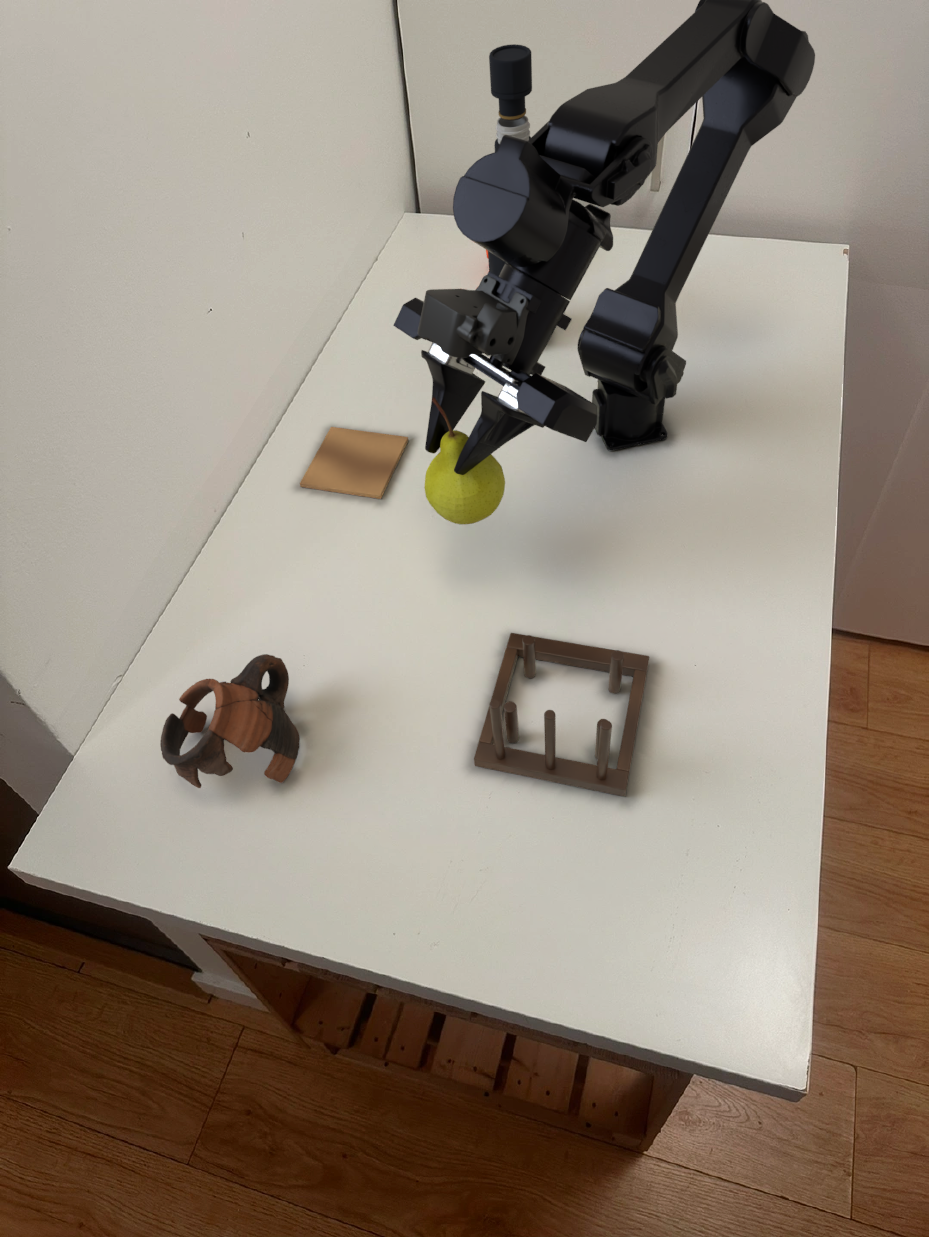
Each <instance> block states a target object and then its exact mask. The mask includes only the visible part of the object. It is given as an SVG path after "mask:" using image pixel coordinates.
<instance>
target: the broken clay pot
mask: <svg viewBox="0 0 929 1237" xmlns="http://www.w3.org/2000/svg"><path fill="white" fill-rule="evenodd" d="M266 673H267V674H268V686H266V688H263V680H264V676H265V675H266ZM289 682H290V677H289V671H288V669H287V666H286V664H285V662H284V661H283V658H281V657H276V656H275V655H273V654H272V655H271V654H268V653H266V654H264V653H263V654H260V655H257V656H255V657H253V658H252V659H251V660H250V661H249V662H248V663H247V664H246V665H245V667H244V668H243V669H242V671H241V672H240V673H239V674H238V675H236V676H235V677H233V678H232V679H230V682H228V681H221V682H220V681H219V680H217V679H214V678H205V679H200V680H199V681H196V682H194V684H192V685H191V686H190V687H188V688H187V689H186V690H185V691H184V692H183V693H182V694H181V696H180V697H179V698H178V700H179V702H180V703H181V704H184V705H185V707H184V709H183V710H182V712H181V714H180V716H177V715H176V714H175V713H170V714H169V715H168V716H167V717H166V719H165V721H164V724H163V727H162V731H161V735H160V751H161V756H162V758H163V760H164V761H165V762H166V763H167V764H168V765H169V766H173V767H174V769H175V770H176V774H178V776H180V777H181V778H183V779H184V780H185V781H187V782H188V783H189V784H190V785H192V786H194V787H196V788H197V789H201V788H202V782H201V781H200V778H199V771H200V772H201V773H203V774H206V775H215V776H218V777H225V776H226V775H228V774H231V772H232V771H234V767H233V766H232V764H231V763H230V762H228V761H227V760H228V758H227V755H226V750H225V741H226V742H227V743H229V744H231V745H233V746H234V747H236V748H237V749H239V751H241V752H242V753H247V754H251V753H255V752H256V751H257V750H258V749H259V748H261V749H264V750H265V749H266V750H269V751H272V752H273V756H272V757H271V760H270V762H269V764H268V765H267V767H266V769H265V770H264V772H263V775H264V777H266V778H268V779H270V780H274V781H276V782H277V783H279V784H282V783H284V782H285V780H286V779H287V778H288V777H289V775H290V773H291V772H292V770H293V768H294V765H295V763H296V760H297V758H298V754H299V750H300V740H301V739H300V738H301V737H300V732H299V730H298V728H297V727H296V725H295V724H294V723H293V721H292V719H291V717H290V716H289V715H288V714H287V712H286V709H285V708H286V706H285V702H286V701H285V700H286V697H287V693H288V690H289V684H290V683H289ZM212 692H213V694H214V698H215V706H214V708H215V709H214V712H213V715H212V718H211V721H210V724H209V725H208V728H207V731H206V732H204V734H203V736H202V737H201V738H200V740H199V741H198V743H196V745H194V746H193V747H192V748H191V749H190V750H188V751H187V752H185V753H183V754H181V749H182V746H183V744H184V742H185V740H186V738H187V737H188V735H189V734H200V733H203V731H204V729H205V726H206V723H207V720H208V715H207V714H206V712H204V711H200V710H196V707H197V706H198V705H199V703H200V702H201V701H202V700H203V699H204V698H205V697H206V696H207V695H209V694H211V693H212Z"/></svg>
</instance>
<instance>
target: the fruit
mask: <svg viewBox="0 0 929 1237" xmlns="http://www.w3.org/2000/svg"><path fill="white" fill-rule="evenodd" d="M431 401H433V402H434V404H435V405H436V406H437V408H438V410H439V411H440V412H441V414H442V415H443V417H444V418H445V420H446V422H447V425H448V428H449V431H448V432H447V433H446V434H445V435H444V436H443V437H442V439H441V444H440V448H439V453H437V455H435V456H434V458H433V459H432V460H431V462H430V463H429V465H428V467H427V469H426V471H425V476H424V487H423V488H424V493H425V498H426V500H427V501H428V503H429V505H430V506H431V507H432V509H433V510H434V511H435V512H436V513H437V514H438V515H439V516H441V517H442V518H443V520H446V521H448V522H450V523H453V524H456V525H473V524H476V523H480V522H481V521H483V520H485V519H487V518H489V517H490V516H491V515H493V514H494V513H495V512H496V510H497V509H498V507H499V506H500V504H501V502H502V499H503V497H504V494H505V488H506V478H505V474H504V471H503V467H502V464H500V462H499V461H498V460H497V459H496V458H495V456H494V455H493V453H492V454H491V455H489V456H488V457H487V458H485V459H484V460H483V461H481V462H480V463H479V464H478V465H476V466H475V467H474V468H472V469H471V470H470V471H468V472H467V473H466V474H464V475H460V474H457V473H455V472H454V468H455V465H456V463H457V460H458V458H459V455H460V453H461V451H462V449H463V447H464V445H465V444H466V442H467V440H468V438H469V436H468V434H466V432H465V433H464V432H463V431H459V430H458V429H457V430H455V429H454V430H452V428H451V426H450V423H449V420H448V418H447V416H446V414H445V412H444V410H443V409H442V407H441V406H440V405H439V403H438V402H437V400H436V399H435V397H433V398H432V397H431Z"/></svg>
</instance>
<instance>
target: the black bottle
mask: <svg viewBox="0 0 929 1237" xmlns="http://www.w3.org/2000/svg"><path fill="white" fill-rule="evenodd" d="M488 58H489V59H488V62H489V64H488V65H489V81H490V94H491V95H492V97H493V98H495V99H498V117H499V118H498V119H497V120H496V125H495V130H496V135H495V137H496V139H495V141H494V145H493V146H494V152H497V150H498V147H499V145H500V142H501V140H502V137H503V136H504V135H509V136H512V137H516V138H519V139H523V140H526V141H528V140H529V139H530V138H531V137H532V136H531V131H530V129H531V123H530V122H529V118H528V116H526V115H527V108H526V97H527V96H528V95H530V94H531V93H532V91H533V73H532V72H533V68H532V67H533V66H532V50H531V49H530V47H528V46H526V45H524V44H523V45H522V44H505V45H500V46H497V47H495V48H494V49H492V50H491V51H490V52H489V55H488ZM487 260H488V272H489V271H490V272H492V273H493V274H495V275H497V276H499V275H500V273H501V271H502V269H503V267H504V265H505V264H506V262H505V261H503V260H502V259H500V258H499V257H497V256H495V255H494V254H492V253H491V252H489V251H488V258H487ZM506 265H508V264H506ZM508 266H509V265H508ZM510 267H511V266H510Z"/></svg>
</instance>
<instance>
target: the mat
mask: <svg viewBox="0 0 929 1237" xmlns="http://www.w3.org/2000/svg"><path fill="white" fill-rule="evenodd" d="M409 441H410V440H409V436H403V435H395V434H388V433H381V432H373V431H366V430H357V429H351V428H344V427H343V428H342V427H336V426H330V428H329V429H328V431H327V433H326V435H325V437H324V438H323V441H322V442H321V444H320V446H319V447H318V450H317V451H316V453H315V455H314V457H313V459H312V460H311V462H310V463H309V466H308V468H307V469H306V471H305V473H304V475H303V476H302V477H301V478H302V479H301V480H300V482H299V487H300V488H306V489H311V490H312V489H313V490H319V491H326V492H331V493H332V492H333V493H339V494H346V495H352V496H359V497H363V498H364V497H365V498H372V499H378V500H381V499H382V498H383V496H384V494H385V491H386V490H387V487H388V485H389V483H390V481H391V478H392V477H393V475H394V472H395V470H396V468H397V466H398V464H399V461H400V460H401V457H402V456H403V453H404V452H405V449H406V447H407V446H408V443H409Z"/></svg>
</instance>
